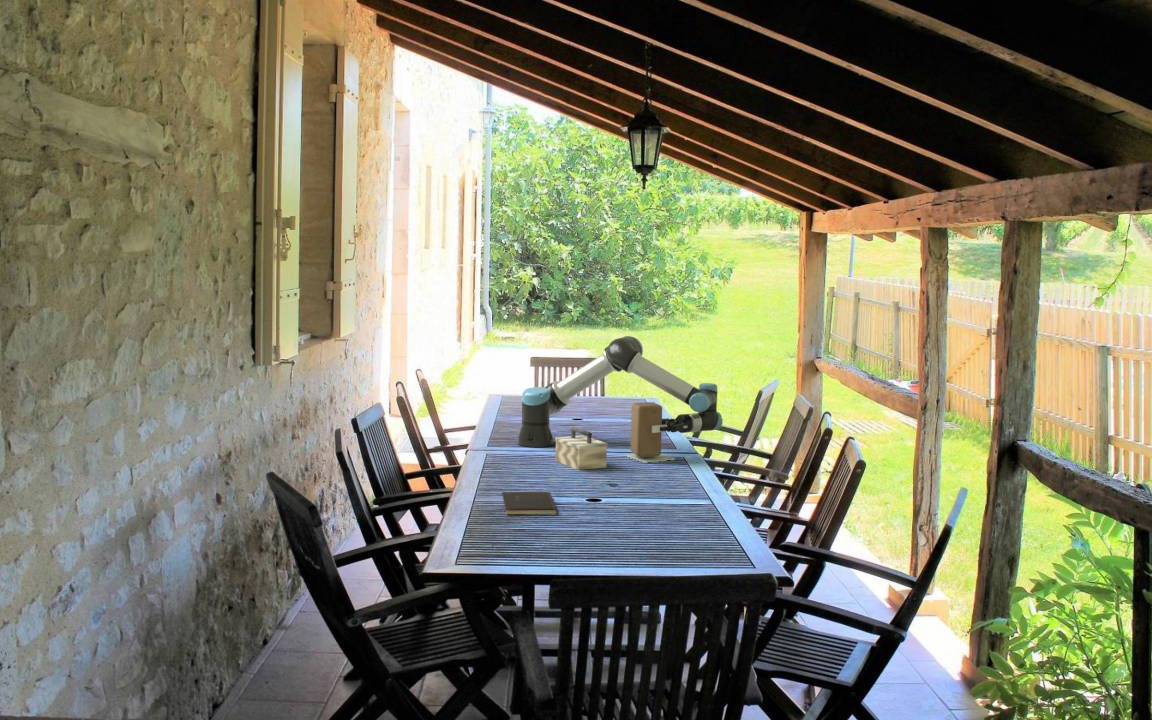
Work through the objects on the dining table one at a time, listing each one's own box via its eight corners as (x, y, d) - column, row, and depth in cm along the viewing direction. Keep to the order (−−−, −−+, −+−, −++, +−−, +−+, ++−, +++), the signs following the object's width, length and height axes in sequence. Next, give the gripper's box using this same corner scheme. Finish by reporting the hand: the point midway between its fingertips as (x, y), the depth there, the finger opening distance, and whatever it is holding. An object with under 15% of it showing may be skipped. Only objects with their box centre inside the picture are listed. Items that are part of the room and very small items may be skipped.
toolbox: (554, 460, 391) (555, 426, 390) (583, 458, 398) (584, 424, 396) (578, 470, 376) (579, 434, 374) (608, 467, 382) (609, 432, 381)
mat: (626, 456, 403) (626, 455, 403) (654, 453, 410) (654, 452, 410) (645, 463, 391) (645, 461, 391) (675, 460, 398) (675, 458, 398)
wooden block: (661, 455, 396) (663, 405, 393) (637, 456, 393) (638, 406, 391) (653, 450, 405) (654, 401, 403) (629, 451, 403) (631, 402, 400)
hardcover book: (505, 516, 310) (505, 509, 309) (502, 498, 332) (502, 491, 332) (557, 516, 311) (557, 509, 311) (550, 498, 334) (550, 491, 334)
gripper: (705, 437, 398) (660, 441, 387) (670, 427, 419) (626, 431, 408) (706, 418, 397) (661, 422, 386) (671, 409, 418) (627, 412, 407)
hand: (643, 426), depth 397 cm, fingers closed on wooden block, 12 cm apart
